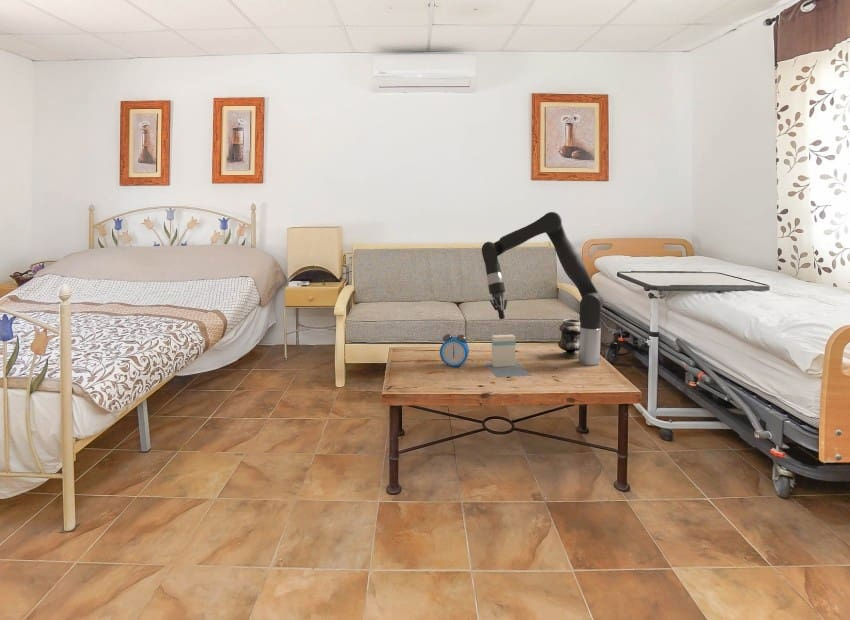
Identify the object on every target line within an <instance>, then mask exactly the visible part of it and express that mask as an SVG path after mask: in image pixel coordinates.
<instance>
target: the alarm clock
mask: <svg viewBox="0 0 850 620" xmlns="http://www.w3.org/2000/svg"><path fill="white" fill-rule="evenodd" d="M441 341H442V342H443V343H442V344H441V346H440V348H439V356H440V359H441V361H442V362H443V363H444V364H445V365H446V367H447V366H448V367H452V368H453V367H454V368H457V367H461V366H462V365H463V364H464V363H465V362H466V361H467V359H468V357H469V355H470V348H469V345H468V343H467V341H468V339H467V337H466V336H465V335H464V334H457V336H456V335H452V334H451V333H446V334H444V335H443V336H442V340H441Z"/></svg>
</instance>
